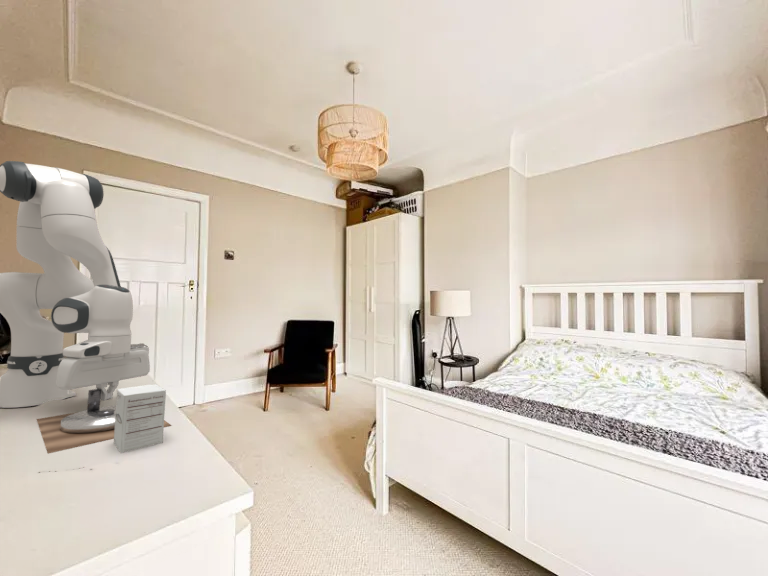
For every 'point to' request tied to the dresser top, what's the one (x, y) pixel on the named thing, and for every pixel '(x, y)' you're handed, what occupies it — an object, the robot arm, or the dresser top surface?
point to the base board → (69, 435)
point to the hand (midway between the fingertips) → (106, 399)
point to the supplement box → (139, 417)
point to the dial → (90, 417)
